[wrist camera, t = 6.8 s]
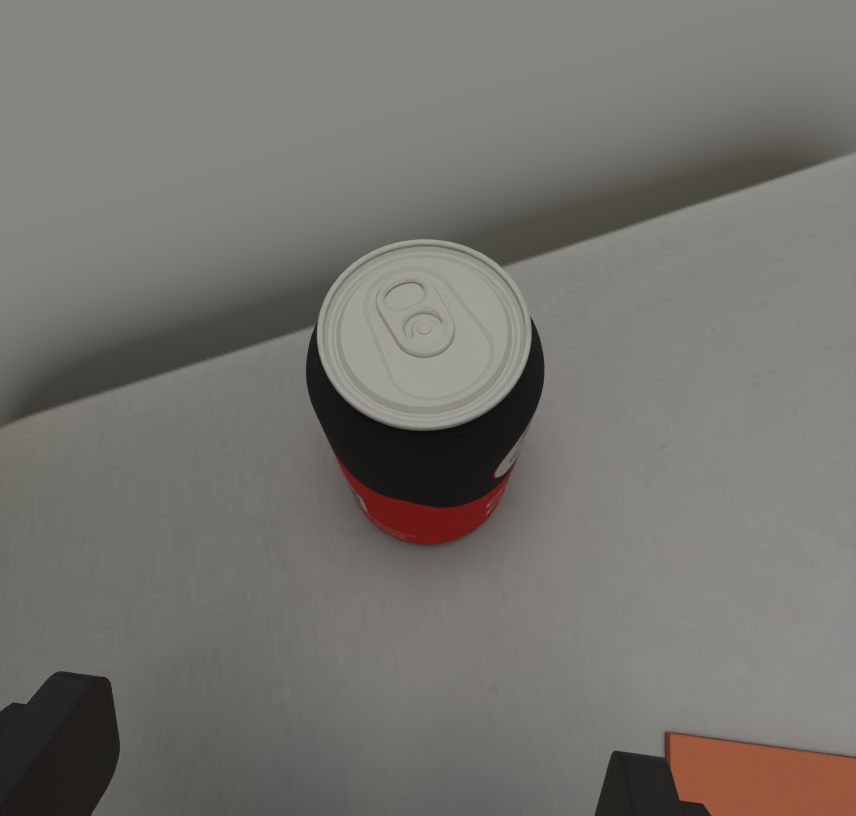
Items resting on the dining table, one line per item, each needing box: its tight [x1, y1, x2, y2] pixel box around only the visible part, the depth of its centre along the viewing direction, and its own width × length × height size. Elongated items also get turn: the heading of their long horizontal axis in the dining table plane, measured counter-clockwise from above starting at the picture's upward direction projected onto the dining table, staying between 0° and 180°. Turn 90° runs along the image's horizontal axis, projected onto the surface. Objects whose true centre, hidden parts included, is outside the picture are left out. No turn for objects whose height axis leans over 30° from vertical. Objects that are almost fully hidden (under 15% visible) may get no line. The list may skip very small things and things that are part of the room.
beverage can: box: [306, 239, 544, 544], centre depth 21 cm, size 6×6×12 cm
